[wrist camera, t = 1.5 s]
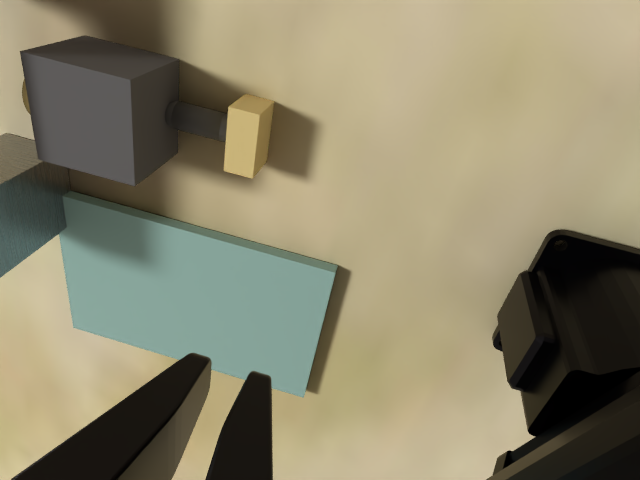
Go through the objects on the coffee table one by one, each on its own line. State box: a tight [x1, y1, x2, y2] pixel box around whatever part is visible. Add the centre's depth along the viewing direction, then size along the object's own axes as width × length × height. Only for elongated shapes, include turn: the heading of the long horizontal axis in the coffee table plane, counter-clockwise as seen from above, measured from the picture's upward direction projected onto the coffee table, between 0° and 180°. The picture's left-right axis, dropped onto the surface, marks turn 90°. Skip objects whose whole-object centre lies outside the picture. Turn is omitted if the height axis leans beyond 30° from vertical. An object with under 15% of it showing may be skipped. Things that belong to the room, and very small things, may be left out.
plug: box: [20, 36, 274, 186], centre depth 18 cm, size 9×4×4 cm, turn 80°
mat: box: [59, 191, 338, 398], centre depth 25 cm, size 14×9×1 cm, turn 80°
